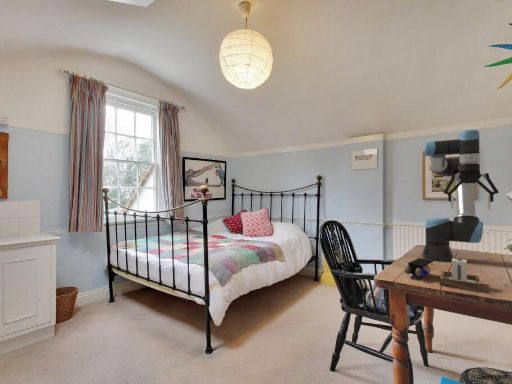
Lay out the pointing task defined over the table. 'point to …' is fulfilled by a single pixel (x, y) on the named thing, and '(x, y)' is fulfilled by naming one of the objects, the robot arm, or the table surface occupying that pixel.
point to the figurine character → (418, 268)
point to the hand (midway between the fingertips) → (470, 208)
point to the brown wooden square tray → (460, 282)
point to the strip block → (459, 269)
